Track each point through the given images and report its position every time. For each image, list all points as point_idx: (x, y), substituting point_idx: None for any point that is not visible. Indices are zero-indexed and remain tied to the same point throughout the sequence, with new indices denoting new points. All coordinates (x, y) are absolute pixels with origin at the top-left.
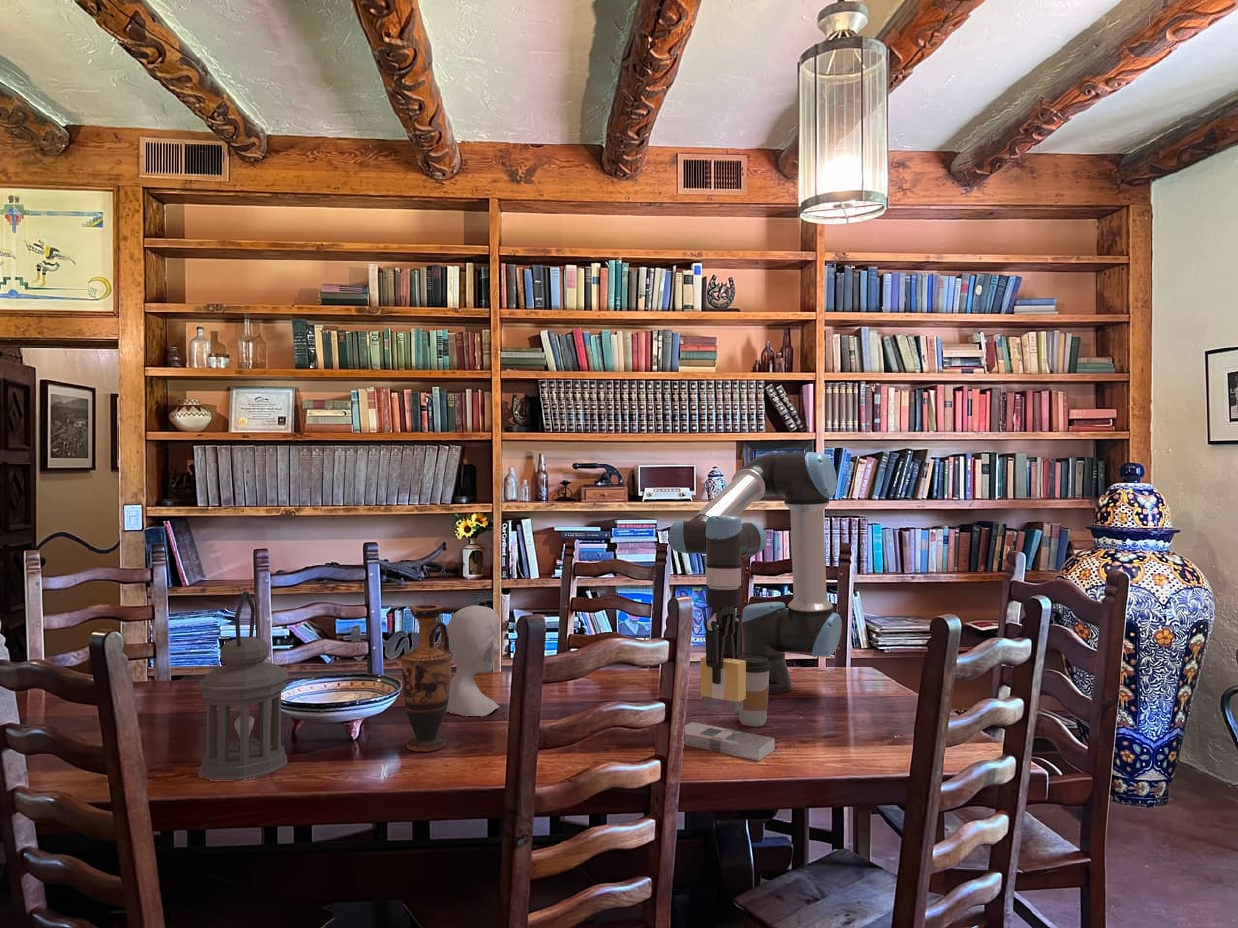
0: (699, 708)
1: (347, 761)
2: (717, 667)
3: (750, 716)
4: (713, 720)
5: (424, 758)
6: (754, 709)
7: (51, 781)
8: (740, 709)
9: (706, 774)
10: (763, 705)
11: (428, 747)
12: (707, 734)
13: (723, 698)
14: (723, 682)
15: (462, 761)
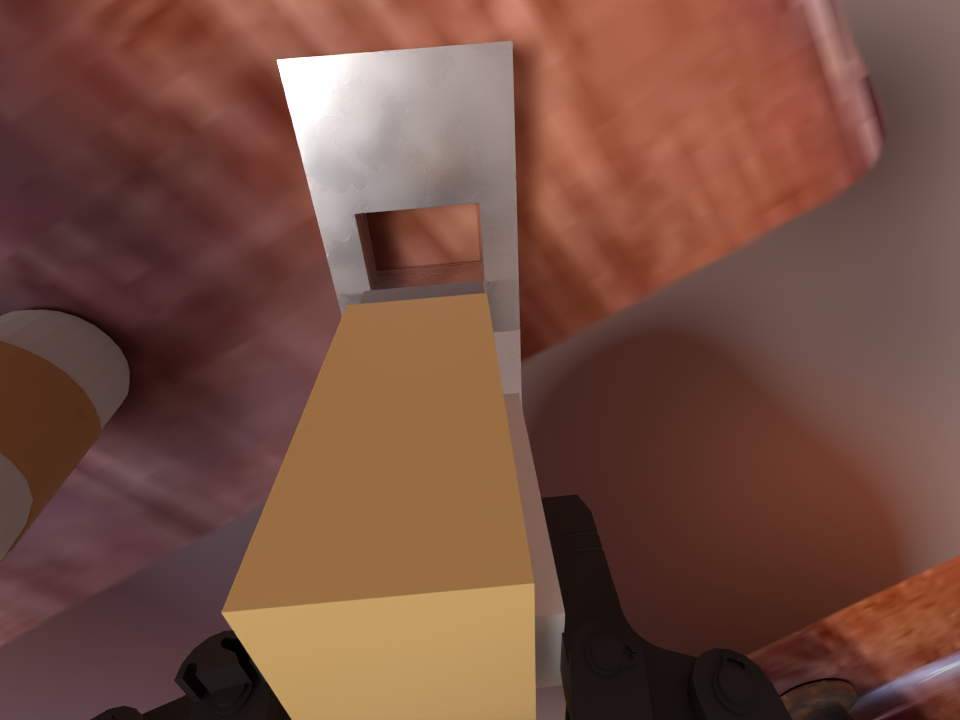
0: (144, 557)
1: (923, 705)
2: (649, 651)
3: (91, 364)
4: (203, 470)
5: (878, 666)
6: (50, 368)
7: None
8: (406, 287)
9: (785, 161)
10: None
11: (850, 690)
12: None
13: (515, 397)
14: (533, 487)
15: (877, 631)
